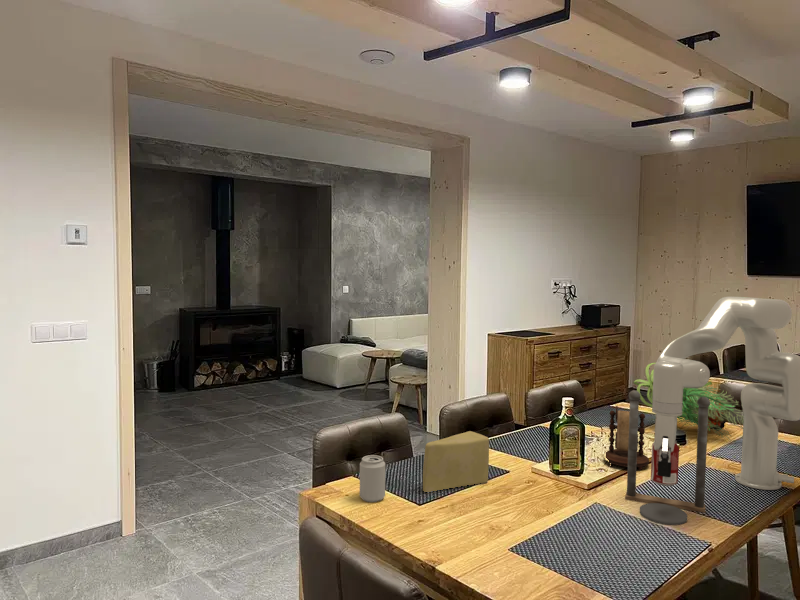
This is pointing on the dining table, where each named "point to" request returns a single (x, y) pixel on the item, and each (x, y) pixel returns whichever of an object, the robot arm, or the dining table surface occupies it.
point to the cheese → (456, 461)
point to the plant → (690, 405)
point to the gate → (700, 462)
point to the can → (372, 478)
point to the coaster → (663, 514)
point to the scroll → (624, 440)
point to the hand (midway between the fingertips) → (664, 471)
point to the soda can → (674, 467)
